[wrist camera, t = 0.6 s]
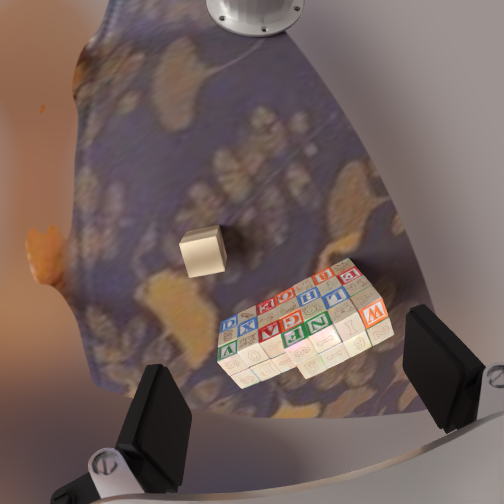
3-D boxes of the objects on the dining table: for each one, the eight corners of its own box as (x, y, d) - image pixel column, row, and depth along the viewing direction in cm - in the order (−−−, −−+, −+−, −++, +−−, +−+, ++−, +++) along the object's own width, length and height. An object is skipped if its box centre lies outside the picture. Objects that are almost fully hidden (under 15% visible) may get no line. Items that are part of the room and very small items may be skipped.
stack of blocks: (240, 348, 46) (240, 405, 35) (220, 320, 44) (213, 377, 33) (362, 288, 43) (395, 335, 32) (348, 255, 41) (383, 297, 30)
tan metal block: (186, 231, 39) (179, 243, 34) (219, 224, 39) (215, 236, 34) (195, 262, 41) (189, 277, 36) (226, 255, 41) (224, 271, 36)
